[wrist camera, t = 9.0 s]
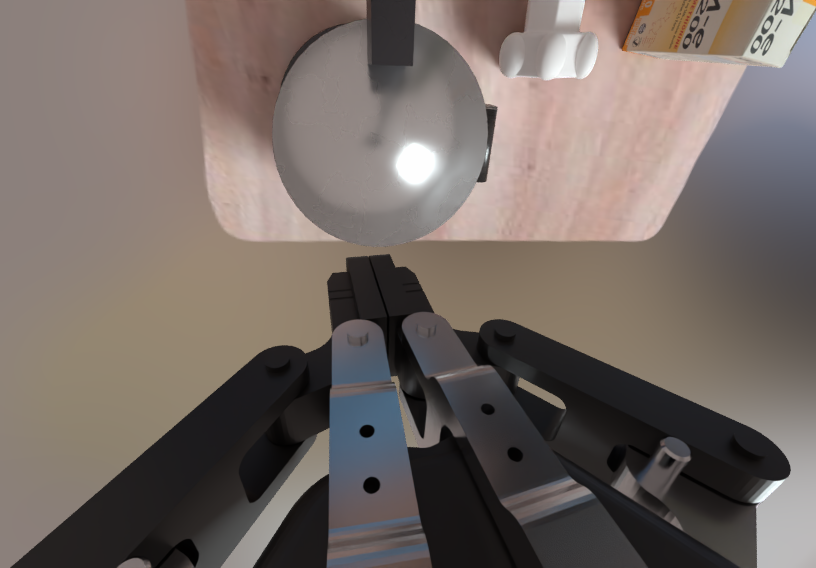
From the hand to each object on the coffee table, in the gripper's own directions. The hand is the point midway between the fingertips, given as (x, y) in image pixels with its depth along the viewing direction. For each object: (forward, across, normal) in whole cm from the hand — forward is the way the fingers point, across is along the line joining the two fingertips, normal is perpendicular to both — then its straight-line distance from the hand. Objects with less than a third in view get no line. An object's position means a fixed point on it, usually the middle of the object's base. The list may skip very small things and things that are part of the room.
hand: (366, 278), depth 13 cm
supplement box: (+27, -33, -11) cm, 44 cm away
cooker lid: (+16, -4, -4) cm, 17 cm away
